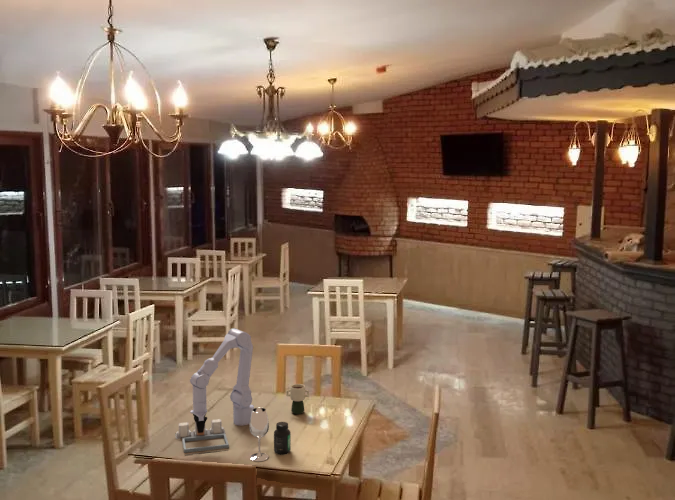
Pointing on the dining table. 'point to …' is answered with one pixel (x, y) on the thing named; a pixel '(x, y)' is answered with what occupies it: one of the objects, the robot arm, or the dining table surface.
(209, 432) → the block
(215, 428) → the fuse
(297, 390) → the character mug
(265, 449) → the dining table surface
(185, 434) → the block
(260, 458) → the wineglass
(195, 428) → the fuse marked
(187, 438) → the tray
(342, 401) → the dining table surface
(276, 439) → the supplement bottle
